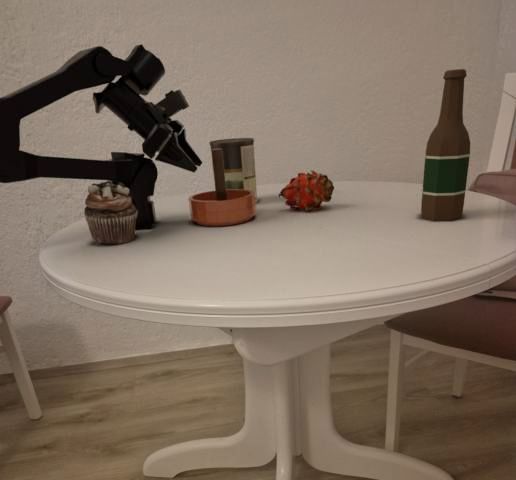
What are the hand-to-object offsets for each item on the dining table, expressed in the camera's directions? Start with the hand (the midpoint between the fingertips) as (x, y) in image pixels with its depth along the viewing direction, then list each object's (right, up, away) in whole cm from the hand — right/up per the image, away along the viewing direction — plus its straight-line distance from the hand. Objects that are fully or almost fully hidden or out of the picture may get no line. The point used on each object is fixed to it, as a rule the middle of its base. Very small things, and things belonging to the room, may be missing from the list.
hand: (198, 167), depth 96 cm
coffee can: (+7, -1, +21) cm, 22 cm away
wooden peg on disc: (+5, -9, +4) cm, 11 cm away
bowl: (+5, -9, +5) cm, 11 cm away
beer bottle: (+46, -12, -6) cm, 48 cm away
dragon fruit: (+23, -7, +8) cm, 25 cm away
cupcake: (-16, -15, -5) cm, 22 cm away
